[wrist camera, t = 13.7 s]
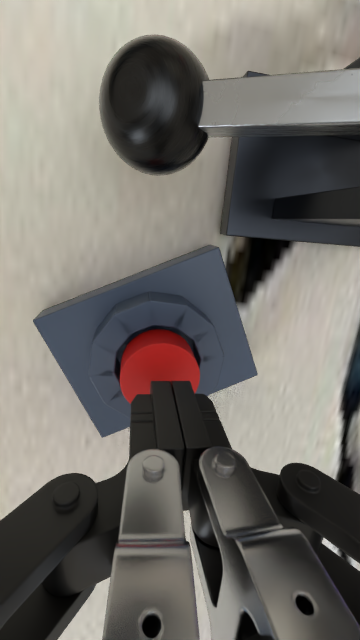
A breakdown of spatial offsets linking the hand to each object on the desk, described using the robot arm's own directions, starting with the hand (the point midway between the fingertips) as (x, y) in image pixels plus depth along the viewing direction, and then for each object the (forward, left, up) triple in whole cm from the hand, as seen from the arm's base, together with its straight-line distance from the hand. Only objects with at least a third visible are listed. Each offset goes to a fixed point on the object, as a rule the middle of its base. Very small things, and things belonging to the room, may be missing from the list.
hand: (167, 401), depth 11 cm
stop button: (0, 0, -4) cm, 4 cm away
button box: (0, 0, -7) cm, 7 cm away
